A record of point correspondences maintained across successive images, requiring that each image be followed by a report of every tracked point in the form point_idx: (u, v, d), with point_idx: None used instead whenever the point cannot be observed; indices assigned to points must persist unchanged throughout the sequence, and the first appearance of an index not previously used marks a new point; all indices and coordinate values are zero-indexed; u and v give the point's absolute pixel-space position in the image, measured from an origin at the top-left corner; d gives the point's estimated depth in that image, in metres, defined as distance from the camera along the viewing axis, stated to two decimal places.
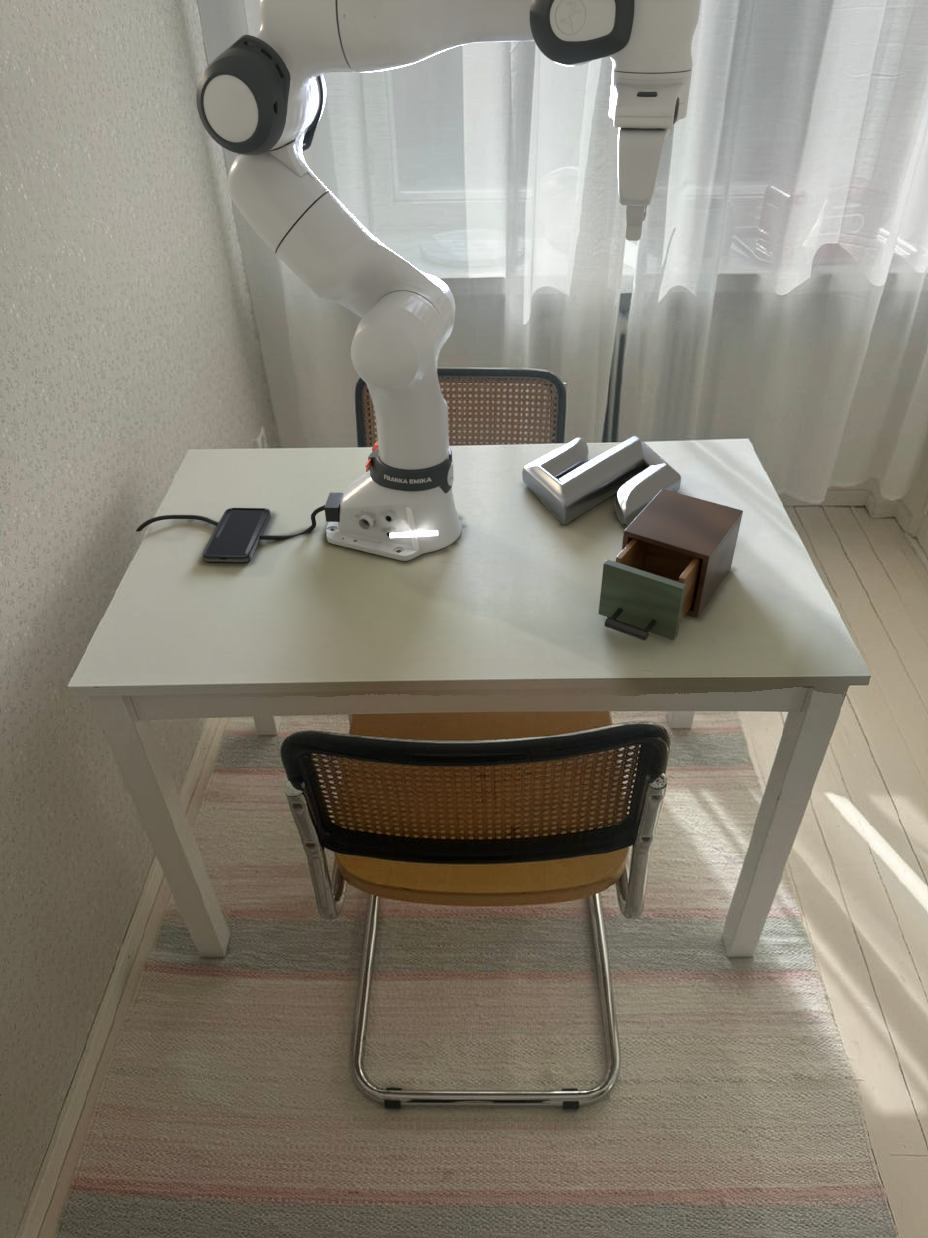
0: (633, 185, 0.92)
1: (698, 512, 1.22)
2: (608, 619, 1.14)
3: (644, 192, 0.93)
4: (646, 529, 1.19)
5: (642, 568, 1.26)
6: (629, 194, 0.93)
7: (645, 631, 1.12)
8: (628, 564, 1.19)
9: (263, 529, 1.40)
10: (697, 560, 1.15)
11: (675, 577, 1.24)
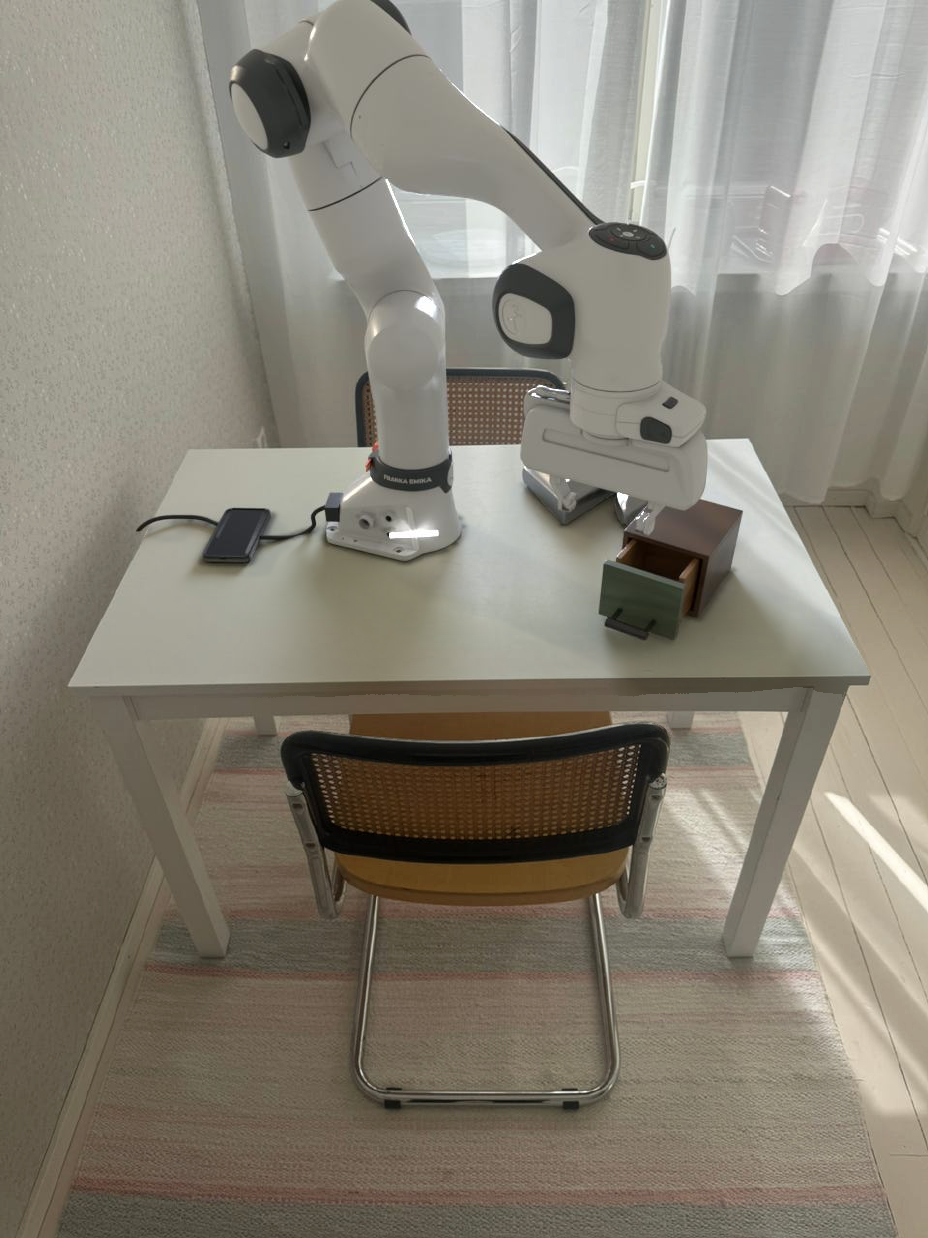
0: (699, 489, 0.84)
1: (698, 512, 1.22)
2: (608, 619, 1.14)
3: (703, 489, 0.85)
4: None
5: (642, 568, 1.26)
6: (697, 498, 0.84)
7: (645, 631, 1.12)
8: (628, 564, 1.19)
9: (263, 529, 1.40)
10: (697, 560, 1.15)
11: (675, 577, 1.24)
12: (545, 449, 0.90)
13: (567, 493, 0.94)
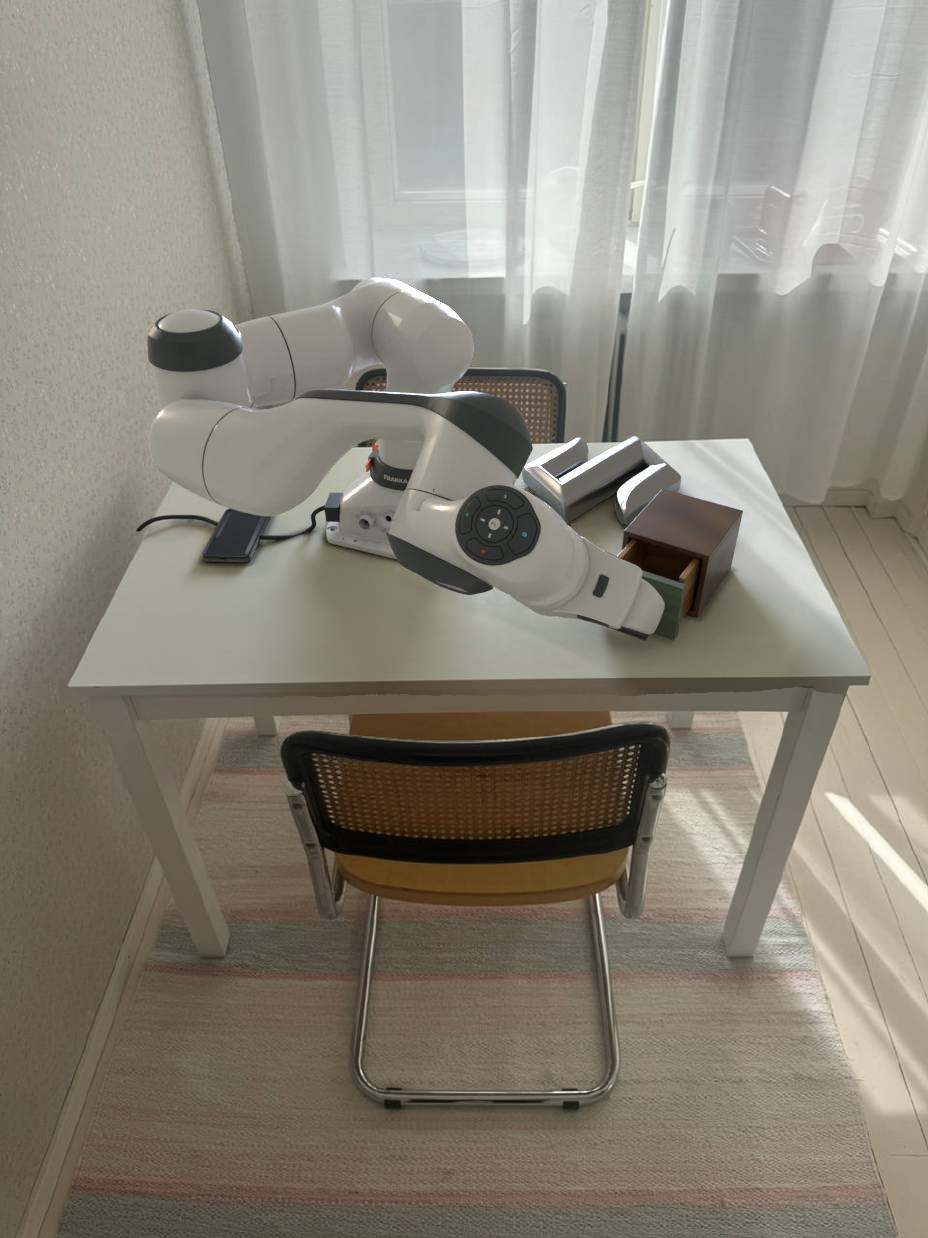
0: (656, 619, 0.86)
1: (698, 512, 1.22)
2: None
3: (662, 609, 0.86)
4: (646, 529, 1.19)
5: (642, 568, 1.26)
6: (657, 624, 0.87)
7: None
8: None
9: (263, 529, 1.40)
10: (697, 560, 1.15)
11: (675, 577, 1.24)
12: None
13: None
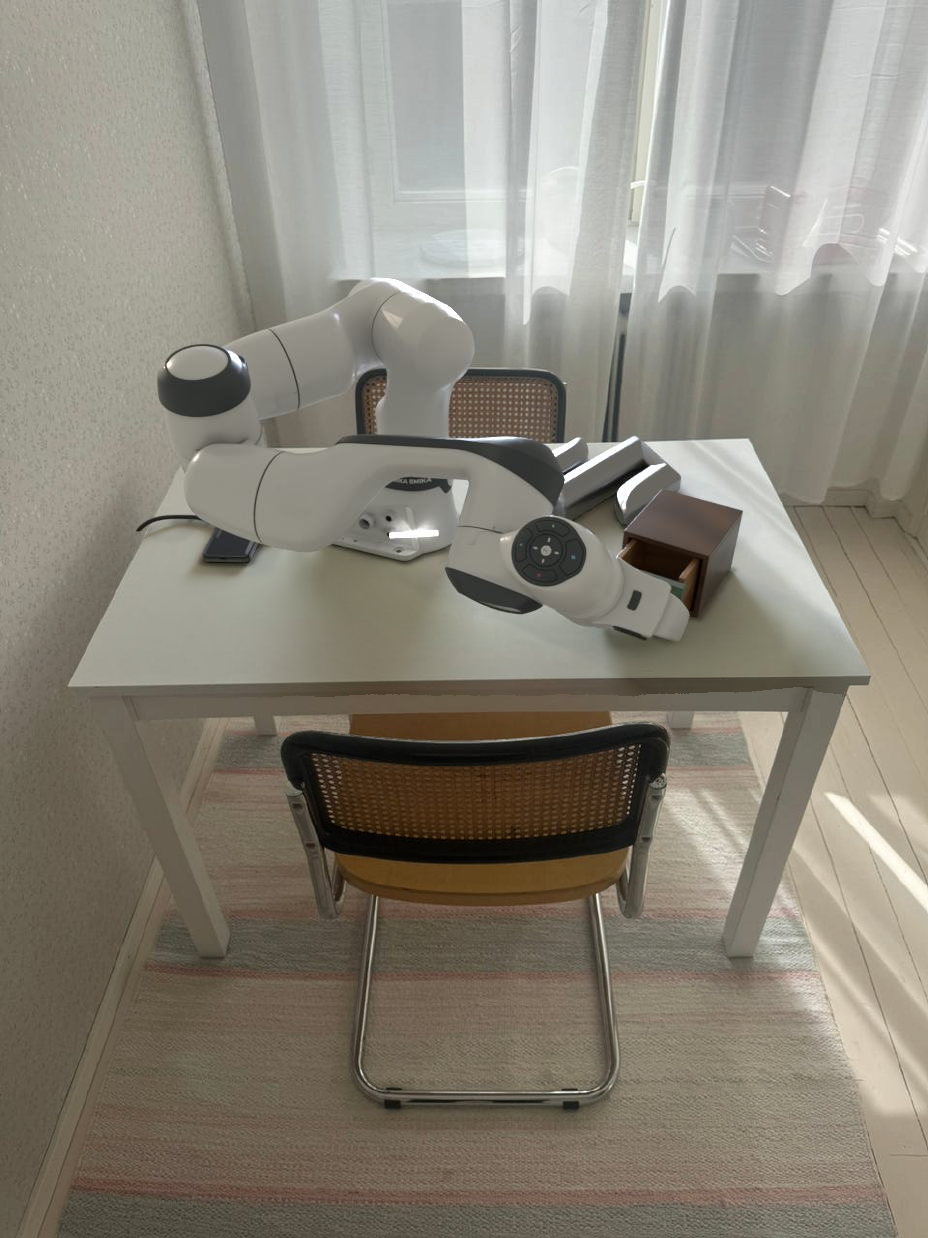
0: (682, 628, 0.97)
1: (698, 512, 1.22)
2: None
3: (687, 619, 0.97)
4: (646, 529, 1.19)
5: (642, 568, 1.26)
6: (682, 632, 0.97)
7: None
8: None
9: None
10: (697, 560, 1.15)
11: (675, 577, 1.24)
12: None
13: None
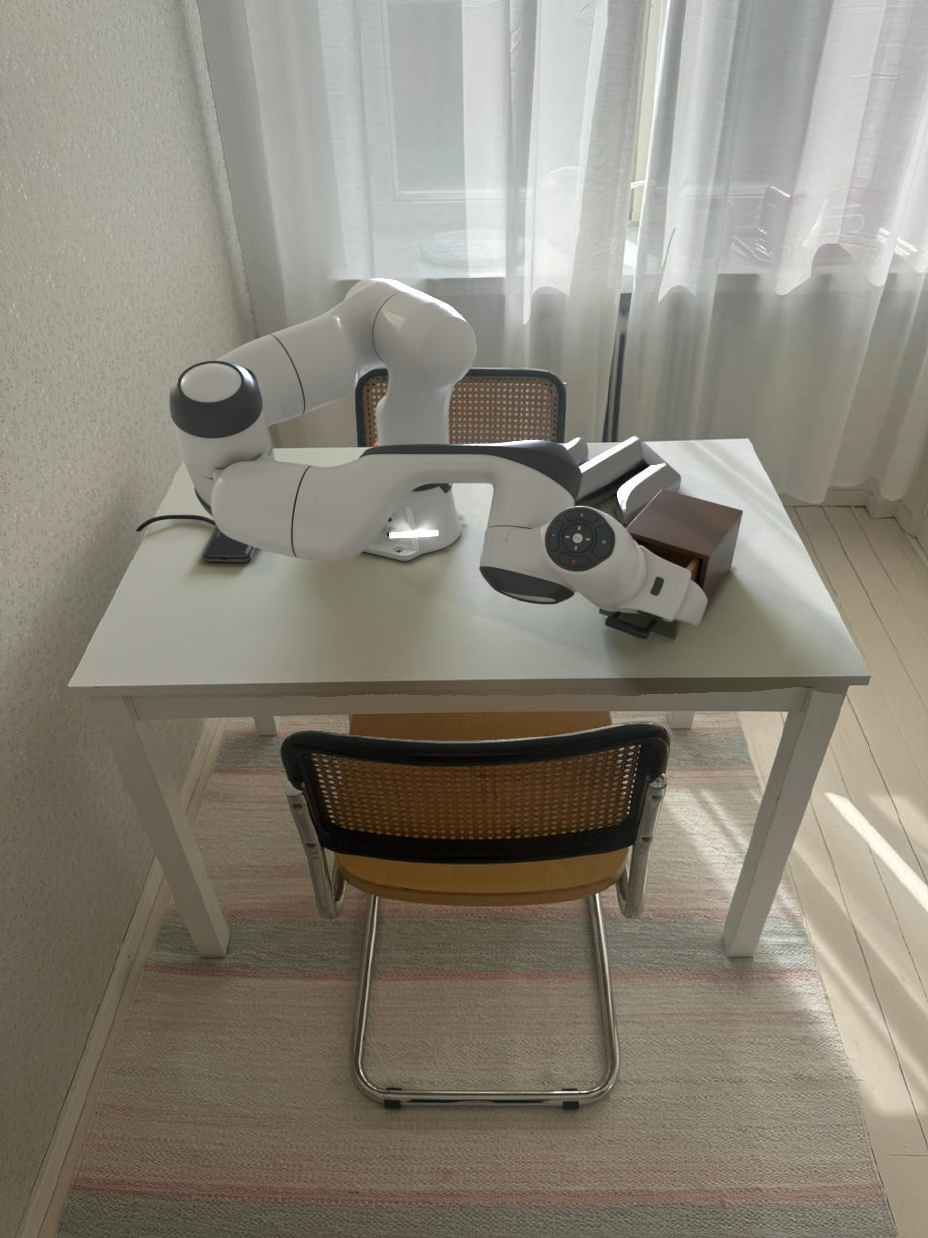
0: (701, 613, 1.03)
1: (698, 512, 1.22)
2: (609, 618, 1.14)
3: (705, 605, 1.03)
4: (646, 529, 1.19)
5: None
6: (701, 617, 1.04)
7: (646, 630, 1.12)
8: None
9: None
10: (697, 559, 1.15)
11: None
12: None
13: None
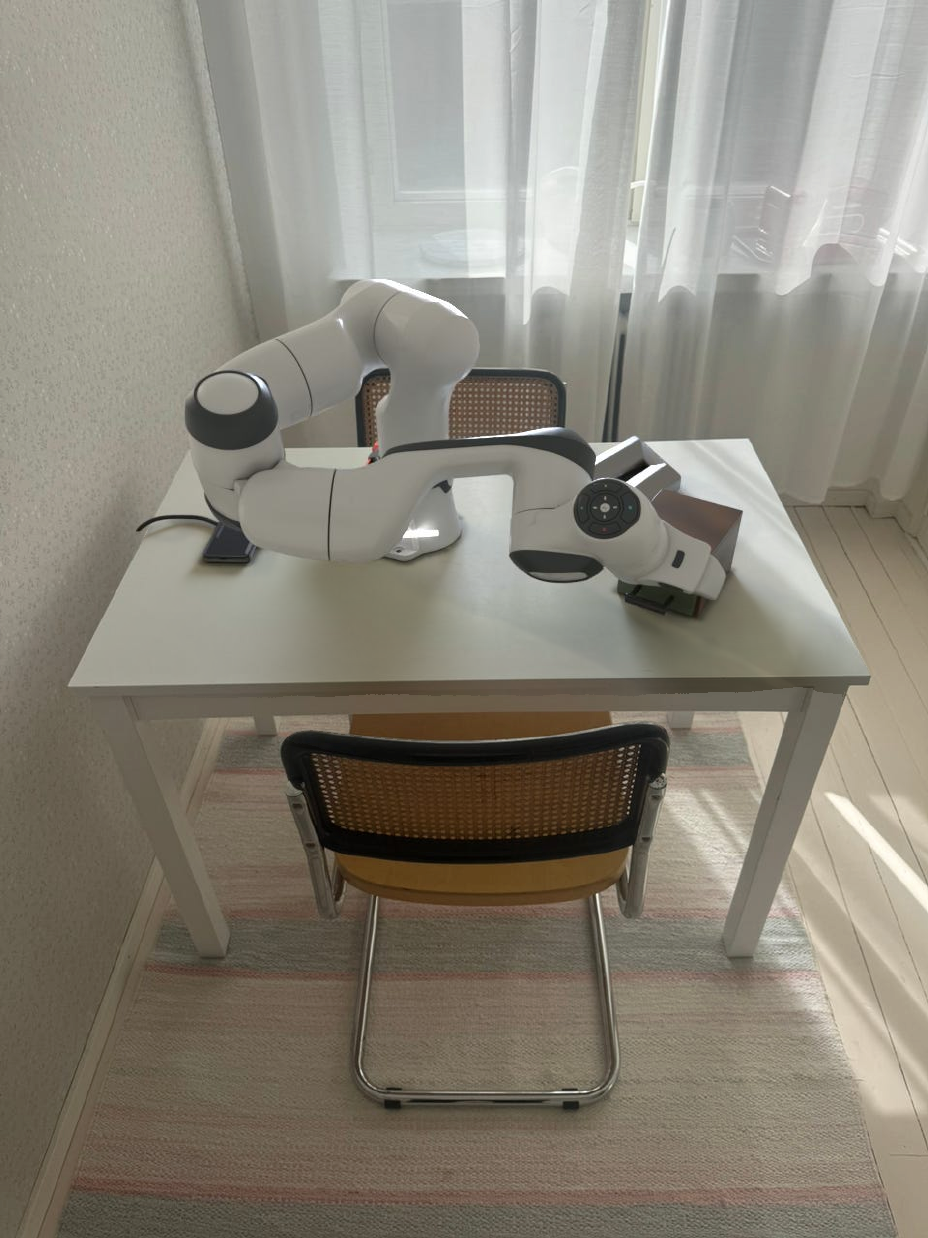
0: (719, 588, 1.07)
1: (698, 512, 1.22)
2: (628, 594, 1.18)
3: (723, 580, 1.07)
4: None
5: None
6: (719, 592, 1.08)
7: (664, 606, 1.16)
8: None
9: None
10: None
11: None
12: None
13: None
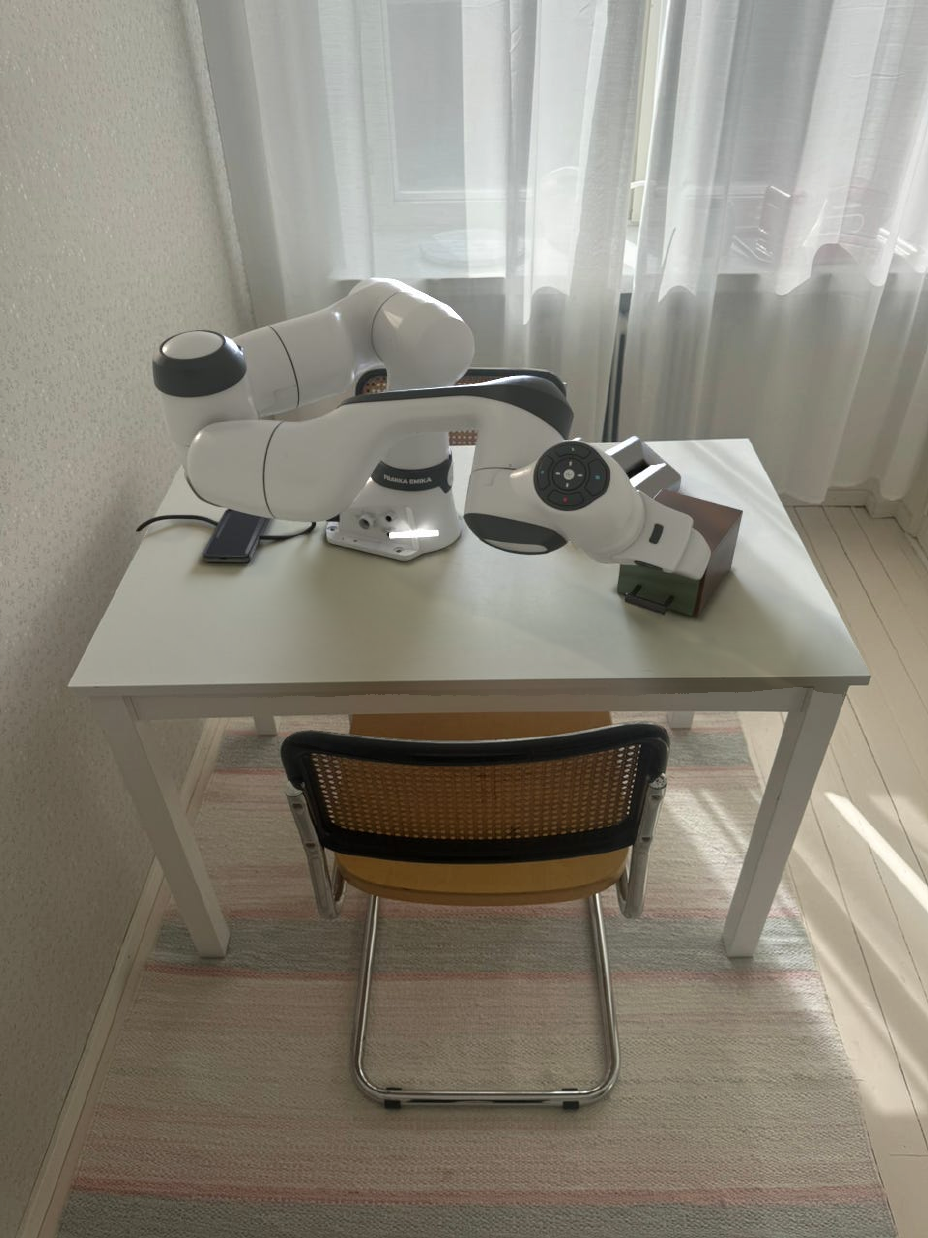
0: (703, 566, 0.95)
1: (698, 512, 1.22)
2: (628, 594, 1.18)
3: (708, 557, 0.96)
4: None
5: None
6: (704, 570, 0.96)
7: (664, 606, 1.16)
8: None
9: (263, 529, 1.40)
10: None
11: None
12: None
13: None
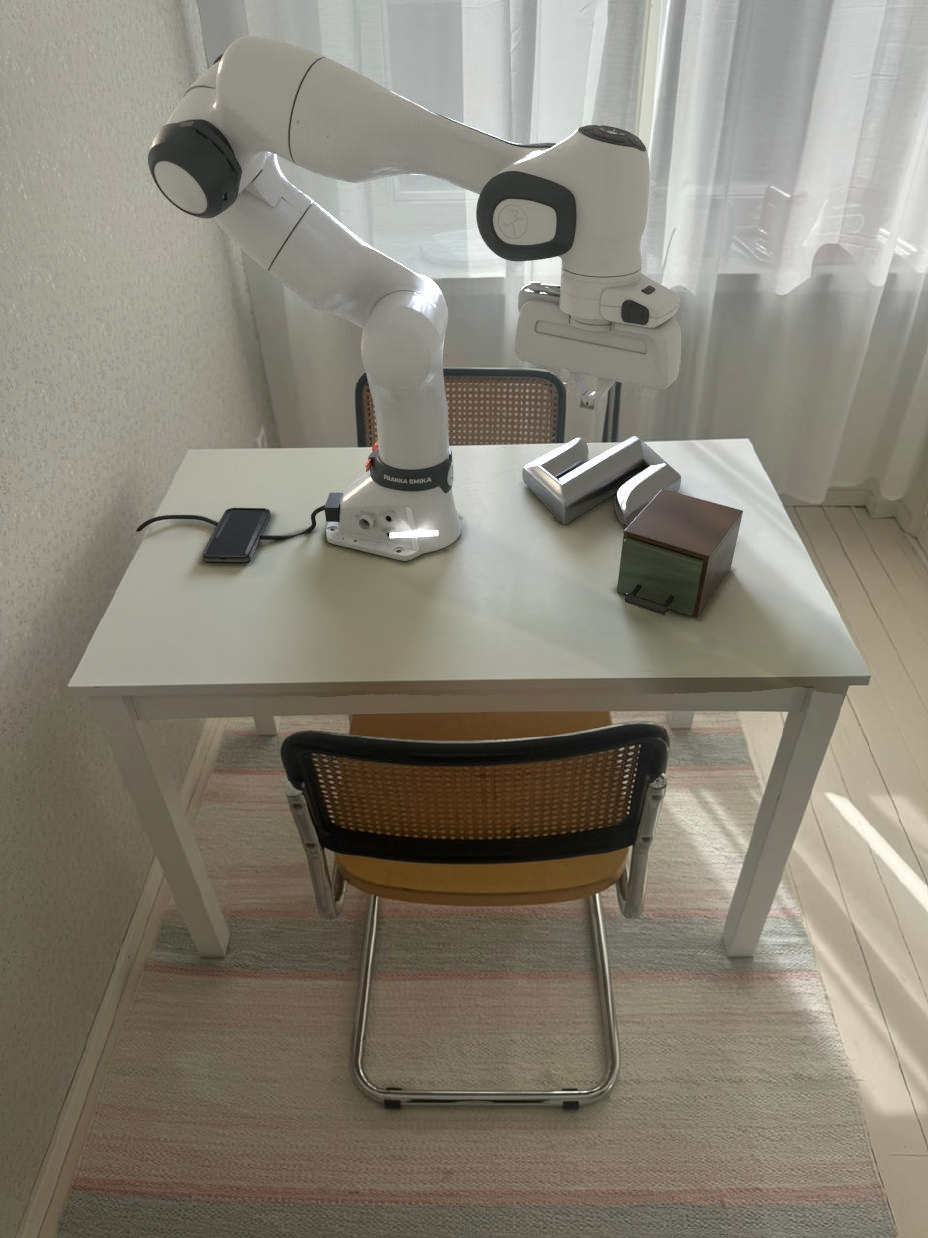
0: (673, 370, 0.94)
1: (698, 512, 1.22)
2: (628, 594, 1.18)
3: (677, 372, 0.95)
4: (646, 529, 1.19)
5: None
6: (671, 379, 0.94)
7: (664, 606, 1.16)
8: (647, 543, 1.23)
9: (263, 529, 1.40)
10: None
11: (691, 556, 1.28)
12: (537, 340, 1.00)
13: (585, 391, 1.02)
